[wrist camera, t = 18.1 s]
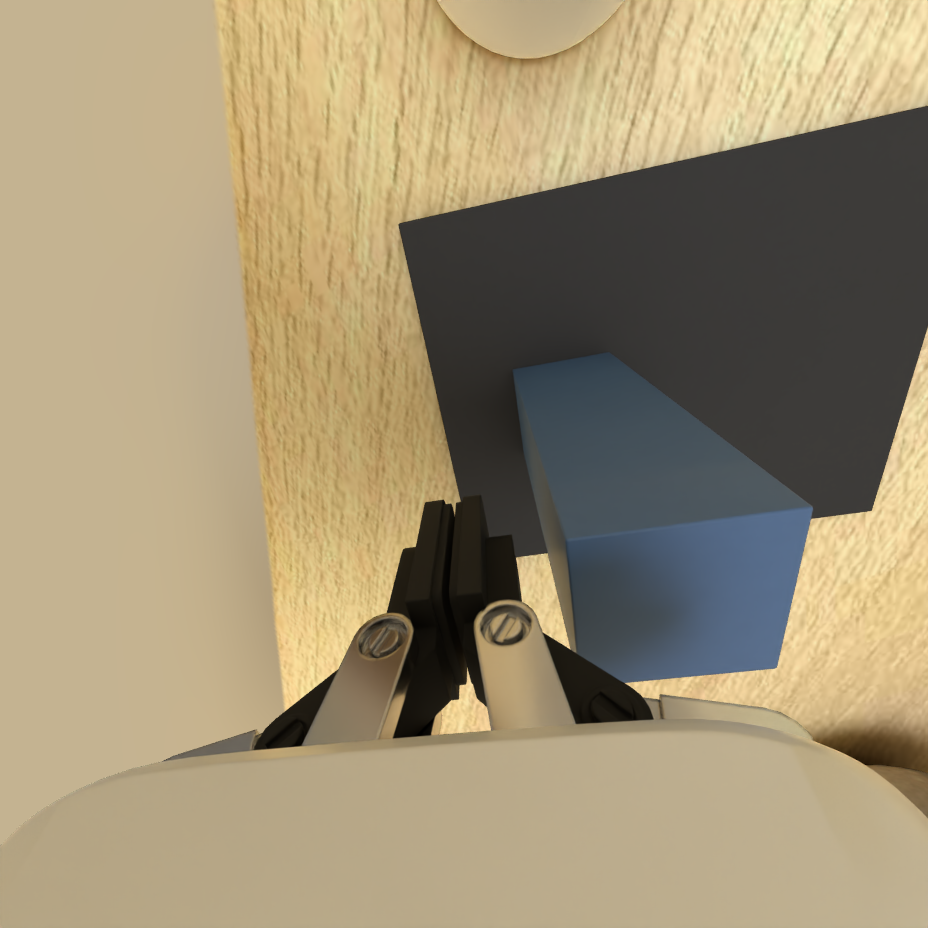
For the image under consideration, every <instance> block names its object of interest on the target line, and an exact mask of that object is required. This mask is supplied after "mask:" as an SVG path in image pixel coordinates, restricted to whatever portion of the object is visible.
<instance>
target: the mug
mask: <svg viewBox="0 0 928 928" xmlns="http://www.w3.org/2000/svg"><path fill="white" fill-rule="evenodd" d="M437 1H438V3H439V5H440V6H441V8H442V9H443V10H444V12H445V13H446V14H447V16H448V17H449V18H450V20H451V21H452V22H453V23H454V24H455V25H456V26H457V27H458V28H459V29H460V30H461V31H462V32H463V33H464V34H465V35H466V36H468V37H469V38H470V39H472V40H473V41H474V42H476V43H477V44H479V45H480V46H482V47H484V48H486V49H488V50H490V51H492V52H495V53H498V54H501V55H504V56H507V57H514V58H521V59H525V58H540V57H545V56H550V55H553V54H556V53H559V52H561V51H564V50H567V49H569V48H570V47H572V46H574V45H576V44H578V43H579V42H581V41H583V40H584V39H585V38H587V37H588V36H589V35H591V34H592V33H593V32H594V31H596V30H597V29H598V28H599V27H601V26H602V25H603V24H604V23H605V22H606V21H607V20H608V19H609V18H610V17H611V16H612V15H613V14H614V13H615V12H616V10H617V9H618V8H619V7H620V6H621V4H622V3H623V2H624V1H625V0H437Z"/></svg>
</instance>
